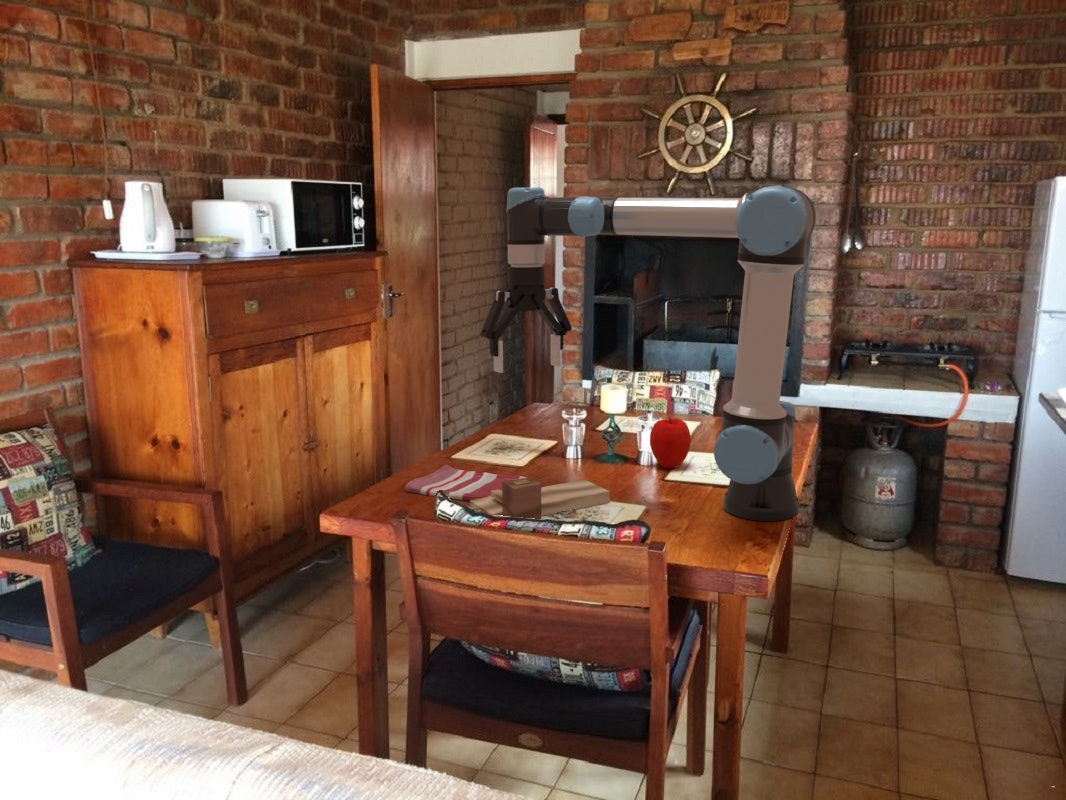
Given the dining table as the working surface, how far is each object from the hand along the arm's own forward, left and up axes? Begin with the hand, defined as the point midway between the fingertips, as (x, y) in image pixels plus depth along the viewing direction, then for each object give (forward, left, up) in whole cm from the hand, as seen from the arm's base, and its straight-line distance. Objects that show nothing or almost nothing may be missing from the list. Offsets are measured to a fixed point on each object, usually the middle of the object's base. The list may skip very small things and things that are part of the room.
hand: (527, 368), depth 187 cm
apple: (+5, -42, -29) cm, 51 cm away
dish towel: (+15, +7, -29) cm, 34 cm away
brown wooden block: (-9, +9, -29) cm, 31 cm away
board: (-5, 0, -29) cm, 29 cm away
